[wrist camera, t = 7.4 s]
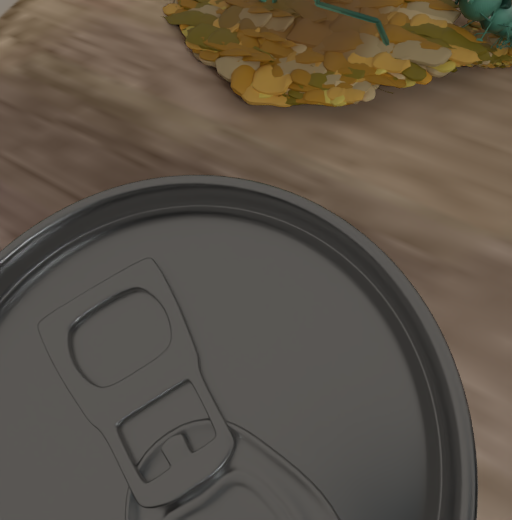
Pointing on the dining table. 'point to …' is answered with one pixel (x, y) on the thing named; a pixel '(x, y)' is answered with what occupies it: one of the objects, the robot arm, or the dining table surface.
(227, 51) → the frog figurine
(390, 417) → the can
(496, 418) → the dining table surface
